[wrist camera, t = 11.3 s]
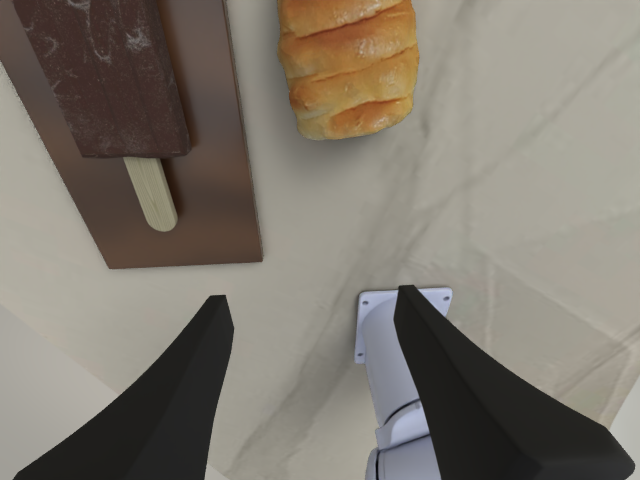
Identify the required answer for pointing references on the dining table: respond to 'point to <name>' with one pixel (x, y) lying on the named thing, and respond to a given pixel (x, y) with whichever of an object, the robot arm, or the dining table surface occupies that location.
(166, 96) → the ice cream bar
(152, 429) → the robot arm
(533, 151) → the dining table surface
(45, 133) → the walnut board
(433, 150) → the dining table surface
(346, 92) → the pastry
